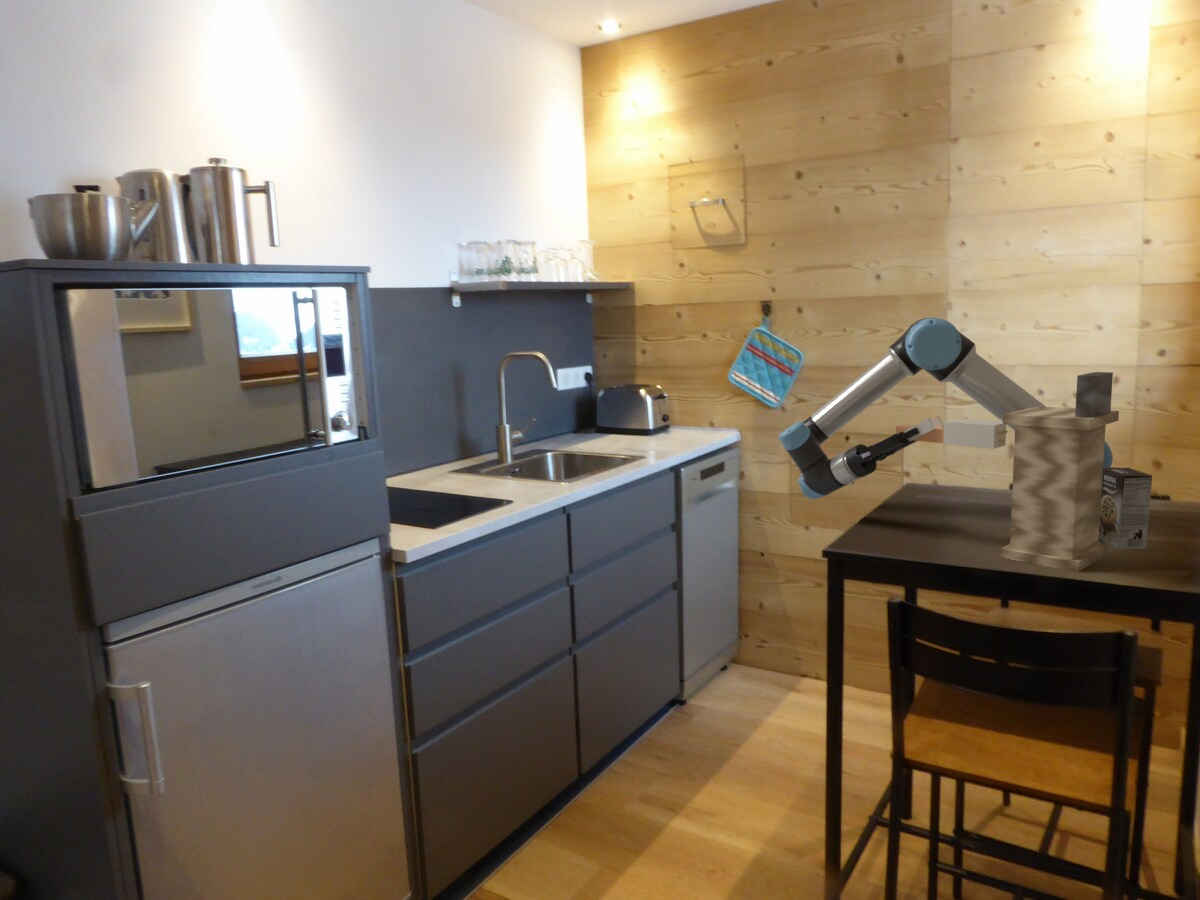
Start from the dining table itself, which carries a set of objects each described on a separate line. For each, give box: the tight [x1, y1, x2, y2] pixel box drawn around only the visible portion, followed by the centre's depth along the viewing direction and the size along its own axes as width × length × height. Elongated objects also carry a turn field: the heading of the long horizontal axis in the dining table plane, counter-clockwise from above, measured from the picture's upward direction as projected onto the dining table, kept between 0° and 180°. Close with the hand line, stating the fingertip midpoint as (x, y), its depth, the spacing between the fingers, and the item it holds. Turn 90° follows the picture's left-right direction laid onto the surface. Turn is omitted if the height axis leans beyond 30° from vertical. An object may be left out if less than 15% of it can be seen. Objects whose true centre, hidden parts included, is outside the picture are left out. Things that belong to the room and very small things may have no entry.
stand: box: [999, 371, 1120, 573], centre depth 178 cm, size 16×17×38 cm
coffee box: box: [1099, 466, 1153, 550], centre depth 187 cm, size 9×6×16 cm
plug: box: [895, 418, 1008, 450], centre depth 194 cm, size 24×6×5 cm, turn 43°
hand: (935, 422), depth 196 cm, fingers closed on plug, 4 cm apart
